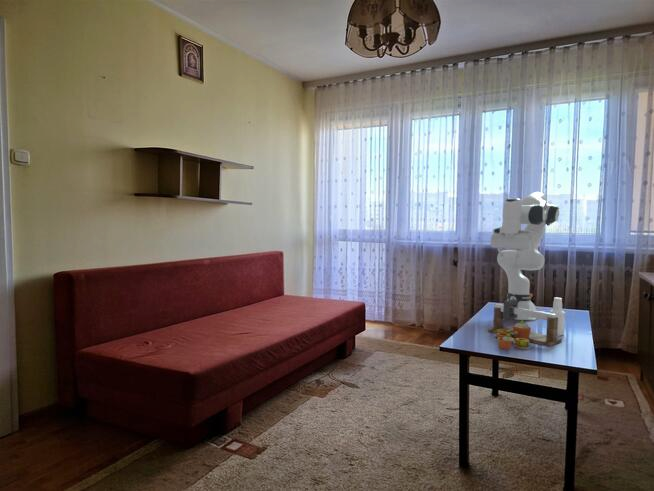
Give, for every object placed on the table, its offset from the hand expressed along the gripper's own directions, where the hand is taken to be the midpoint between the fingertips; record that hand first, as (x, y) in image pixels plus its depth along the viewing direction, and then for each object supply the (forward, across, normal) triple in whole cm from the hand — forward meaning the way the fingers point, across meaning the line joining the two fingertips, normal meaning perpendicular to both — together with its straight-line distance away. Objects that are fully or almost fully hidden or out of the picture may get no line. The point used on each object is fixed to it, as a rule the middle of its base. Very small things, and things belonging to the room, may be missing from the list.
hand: (510, 257), depth 214 cm
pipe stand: (+37, -12, +7) cm, 40 cm away
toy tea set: (+38, -14, +22) cm, 46 cm away
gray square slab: (+30, -5, +7) cm, 31 cm away
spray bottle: (+37, -19, -12) cm, 44 cm away
